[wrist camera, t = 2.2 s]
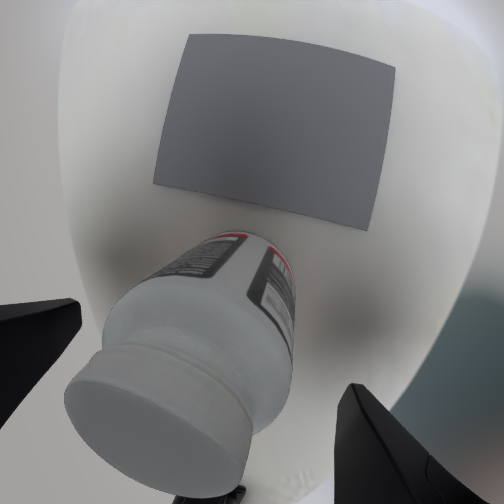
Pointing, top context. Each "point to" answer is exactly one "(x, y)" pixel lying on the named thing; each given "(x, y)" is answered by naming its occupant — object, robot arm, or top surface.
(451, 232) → the top surface
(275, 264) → the pill bottle
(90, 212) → the top surface
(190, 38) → the slate mat
